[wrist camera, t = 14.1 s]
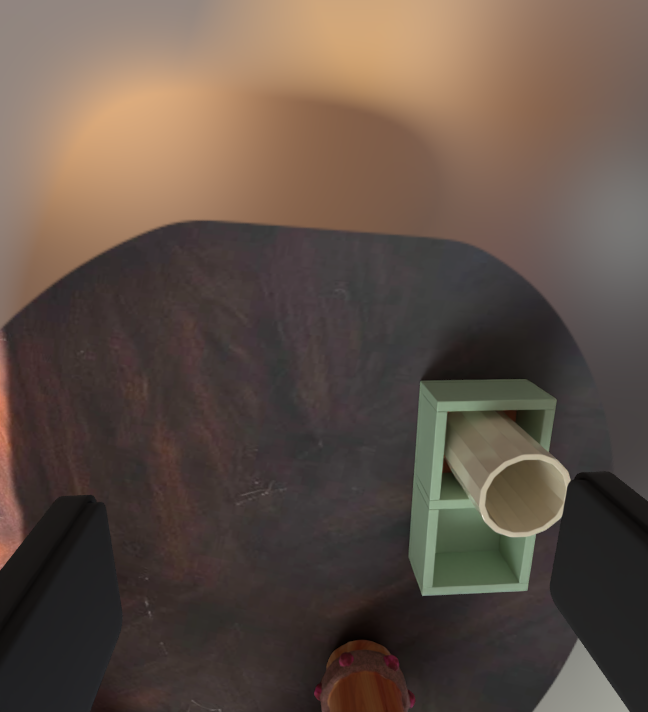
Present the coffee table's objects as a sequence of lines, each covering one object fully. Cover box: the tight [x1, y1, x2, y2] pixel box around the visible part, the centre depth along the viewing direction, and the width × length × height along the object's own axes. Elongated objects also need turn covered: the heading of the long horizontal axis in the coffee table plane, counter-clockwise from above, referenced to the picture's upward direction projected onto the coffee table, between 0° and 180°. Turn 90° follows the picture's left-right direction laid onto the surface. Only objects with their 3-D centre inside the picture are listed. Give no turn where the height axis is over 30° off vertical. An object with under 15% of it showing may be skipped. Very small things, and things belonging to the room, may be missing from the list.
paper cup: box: [443, 410, 571, 537], centre depth 34 cm, size 6×6×9 cm
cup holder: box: [408, 379, 557, 596], centre depth 38 cm, size 17×9×5 cm, turn 0°
